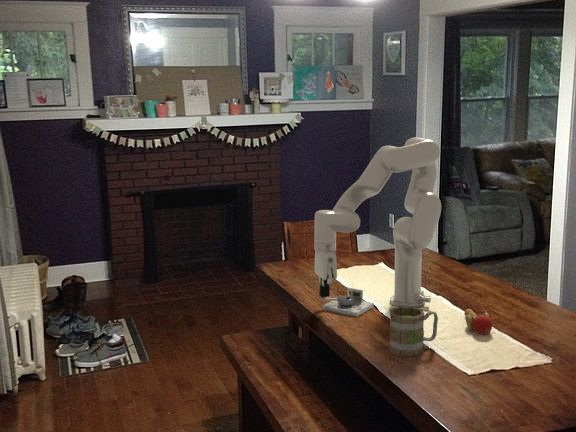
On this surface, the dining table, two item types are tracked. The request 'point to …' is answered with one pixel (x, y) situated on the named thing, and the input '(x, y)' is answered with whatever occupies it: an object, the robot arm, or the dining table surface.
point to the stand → (354, 309)
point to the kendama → (478, 322)
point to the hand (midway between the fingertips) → (324, 296)
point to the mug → (409, 330)
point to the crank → (340, 300)
